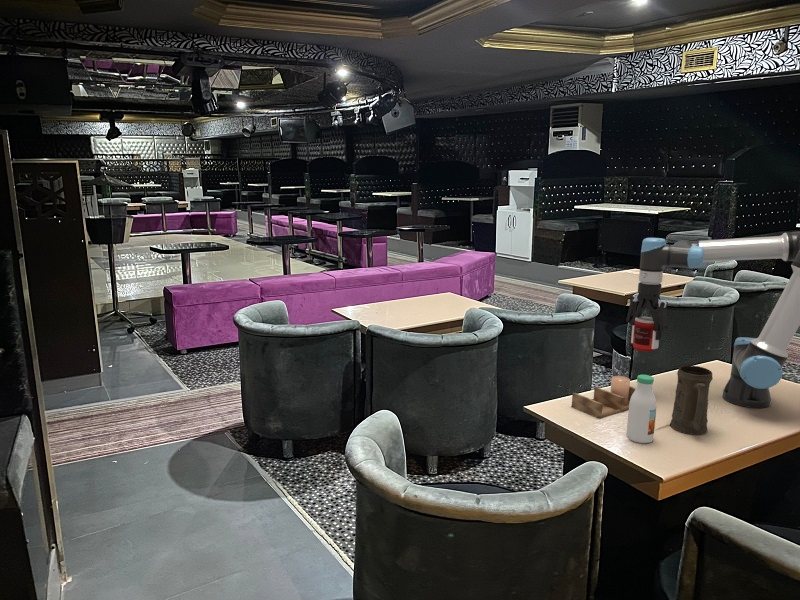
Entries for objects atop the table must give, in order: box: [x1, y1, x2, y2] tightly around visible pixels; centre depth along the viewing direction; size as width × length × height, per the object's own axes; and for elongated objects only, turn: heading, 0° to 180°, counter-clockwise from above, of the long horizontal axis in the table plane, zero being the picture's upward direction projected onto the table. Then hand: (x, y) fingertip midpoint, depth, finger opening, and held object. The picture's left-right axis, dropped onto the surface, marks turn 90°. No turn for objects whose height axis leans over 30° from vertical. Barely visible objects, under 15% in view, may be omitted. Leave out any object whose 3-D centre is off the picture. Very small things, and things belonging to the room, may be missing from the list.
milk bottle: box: [626, 374, 657, 444], centre depth 180 cm, size 8×8×20 cm
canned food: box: [632, 315, 656, 353], centre depth 210 cm, size 8×8×11 cm
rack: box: [571, 386, 636, 420], centre depth 204 cm, size 12×23×6 cm, turn 121°
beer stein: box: [669, 365, 713, 436], centre depth 186 cm, size 15×11×20 cm
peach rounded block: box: [610, 375, 631, 406], centre depth 207 cm, size 6×6×9 cm
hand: (644, 345), depth 211 cm, fingers closed on canned food, 8 cm apart
